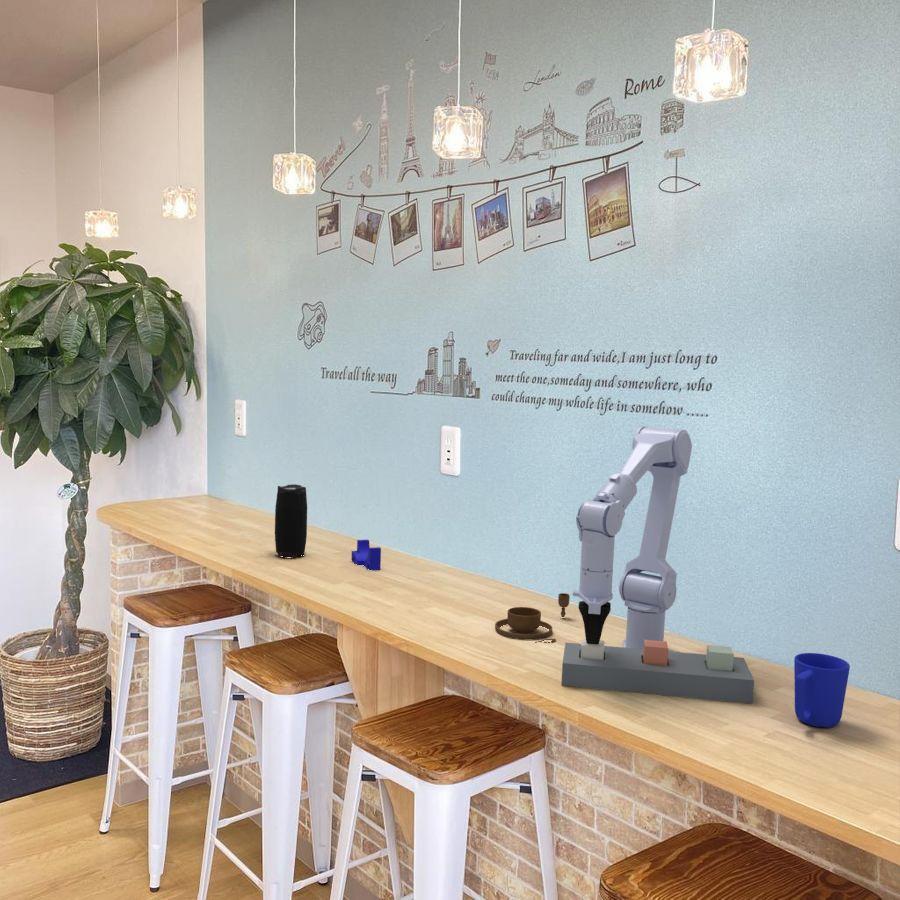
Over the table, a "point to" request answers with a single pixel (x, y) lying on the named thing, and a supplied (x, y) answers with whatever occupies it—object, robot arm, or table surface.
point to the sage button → (719, 658)
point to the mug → (820, 688)
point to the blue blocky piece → (367, 555)
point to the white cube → (592, 650)
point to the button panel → (657, 674)
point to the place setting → (529, 621)
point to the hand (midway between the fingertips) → (592, 643)
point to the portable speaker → (291, 520)
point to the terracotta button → (655, 652)
